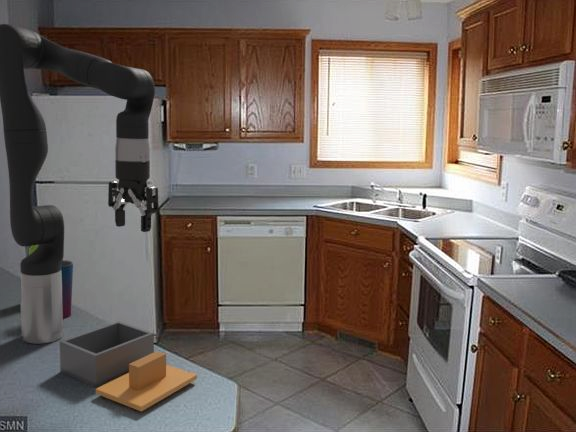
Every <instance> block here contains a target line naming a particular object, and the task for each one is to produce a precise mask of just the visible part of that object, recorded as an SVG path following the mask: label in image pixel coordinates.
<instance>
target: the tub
mask: <svg viewBox="0 0 576 432" xmlns="http://www.w3.org/2000/svg"><path fill="white" fill-rule="evenodd" d="M153 352H155V333H154V332H151V331H148V330H145V329H143V328H140V327H137V326H135V325H131V324H128V323H125V322H122V321H120V320H119V321H115V322H112V323H109V324H107V325H103V326H101V327H97V328H95V329H92V330H89V331H86V332H83V333H79V334H77V335H74V336H70V337H68V338H65V339H63V340H59V361H60V362H59V363H60V364H59V365H60V368H59V369H60V373H62V374H65V375H67V376H70V377H72V378H74V379H75V380H77V381H79V382H82V383H85V384H87V385H89V386H91V387H94V388H95V389H96V388H98V387H101V386H103V385H105V384H107V383H109V382H111V381H113V380H115V379H117V378H119V377H121V376H123V375H125V374H127V373H129V364H130V363H132V362H134V361H137V360H139V359H141V358H143V357H145V356H147V355H149V354H151V353H153Z"/></svg>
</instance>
